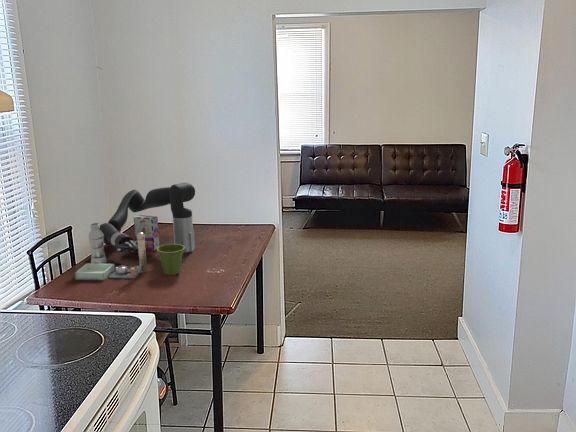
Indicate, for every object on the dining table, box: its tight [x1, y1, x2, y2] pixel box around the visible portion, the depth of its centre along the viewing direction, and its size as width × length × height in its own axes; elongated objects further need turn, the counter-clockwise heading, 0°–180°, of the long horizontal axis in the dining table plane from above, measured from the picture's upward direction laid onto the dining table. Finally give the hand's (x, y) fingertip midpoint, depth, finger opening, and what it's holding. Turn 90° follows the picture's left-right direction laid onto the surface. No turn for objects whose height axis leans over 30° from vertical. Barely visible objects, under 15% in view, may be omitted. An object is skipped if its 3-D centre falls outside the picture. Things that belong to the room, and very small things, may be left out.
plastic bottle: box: [87, 222, 108, 264], centre depth 242 cm, size 6×7×20 cm
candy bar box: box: [133, 214, 161, 252], centre depth 269 cm, size 11×5×16 cm, turn 68°
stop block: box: [131, 267, 135, 275], centre depth 233 cm, size 2×3×3 cm, turn 18°
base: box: [108, 269, 142, 279], centre depth 235 cm, size 11×8×1 cm
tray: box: [74, 262, 116, 281], centre depth 234 cm, size 13×12×3 cm
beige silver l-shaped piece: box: [115, 232, 148, 274], centre depth 234 cm, size 13×5×17 cm, turn 106°
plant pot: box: [156, 243, 185, 276], centre depth 236 cm, size 12×12×11 cm
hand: (138, 250), depth 238 cm, fingers closed
